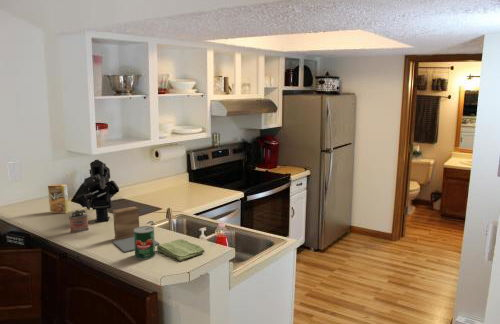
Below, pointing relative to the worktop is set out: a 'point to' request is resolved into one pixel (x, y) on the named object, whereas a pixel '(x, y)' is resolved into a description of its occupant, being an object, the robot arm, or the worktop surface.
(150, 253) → the canned tomato
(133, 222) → the walnut slab
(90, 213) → the worktop surface
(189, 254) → the washcloth
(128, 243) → the mat
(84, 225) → the red patterned tin
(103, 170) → the robot arm
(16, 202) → the worktop surface
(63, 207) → the candy box
